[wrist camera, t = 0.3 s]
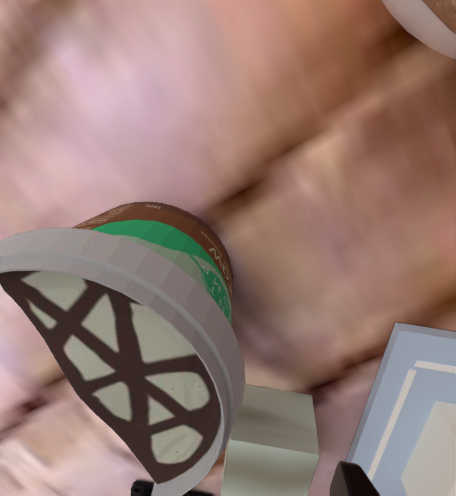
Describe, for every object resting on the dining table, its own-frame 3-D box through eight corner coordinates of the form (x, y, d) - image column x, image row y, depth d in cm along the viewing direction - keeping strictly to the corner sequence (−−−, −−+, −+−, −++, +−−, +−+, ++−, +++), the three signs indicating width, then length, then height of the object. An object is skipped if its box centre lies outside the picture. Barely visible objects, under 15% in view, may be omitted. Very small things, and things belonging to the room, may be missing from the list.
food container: (287, 325, 23) (298, 484, 14) (199, 356, 25) (156, 516, 15) (190, 135, 19) (115, 182, 10) (93, 186, 21) (-47, 266, 12)
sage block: (297, 447, 27) (301, 512, 23) (227, 434, 27) (220, 497, 23) (311, 394, 25) (319, 455, 21) (236, 381, 25) (229, 439, 21)
